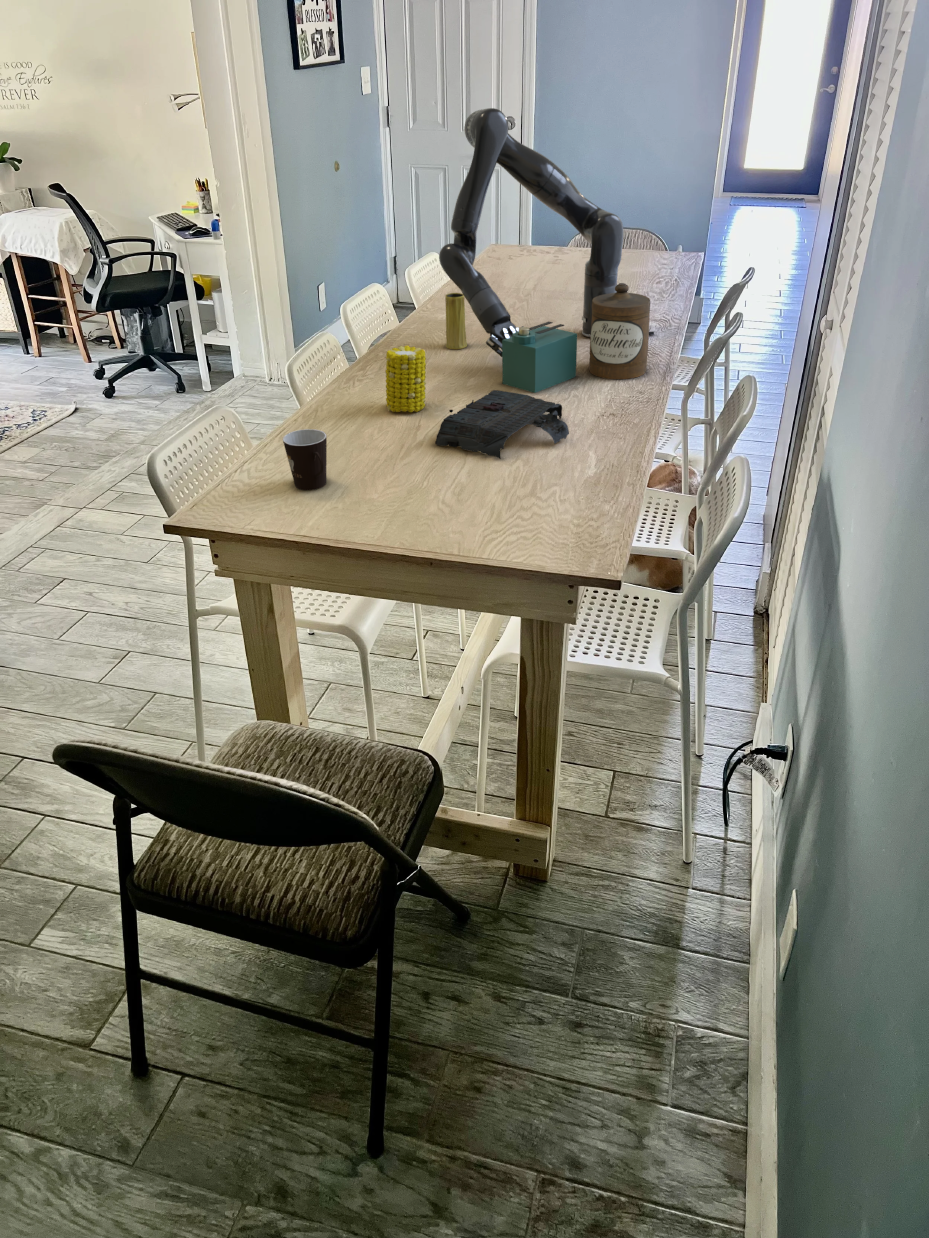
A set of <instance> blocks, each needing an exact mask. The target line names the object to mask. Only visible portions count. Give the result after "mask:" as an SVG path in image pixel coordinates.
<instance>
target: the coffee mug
mask: <svg viewBox="0 0 929 1238" xmlns="http://www.w3.org/2000/svg"><path fill="white" fill-rule="evenodd" d="M327 438H328V435H327V433H326V432H325V431H323V430H321V429H315V428H305V429H304V428H303V429H297V430H293V431H289V432H288V433H286V434H285V435H284V436H283V437H282V442H283V446H284V449H285V453H286V458H287V461H288V464H289V469H290V472H291V475H292V480H293V483H294V487H295V488H296V489H297V490H301V491H316V490H319V489H322V488H323V487H325V486H326V485H327V464H328V463H327V460H328V459H327V458H328V457H327V456H328V455H327V454H328V453H327V447H328V446H327V440H328V439H327Z"/></svg>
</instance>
